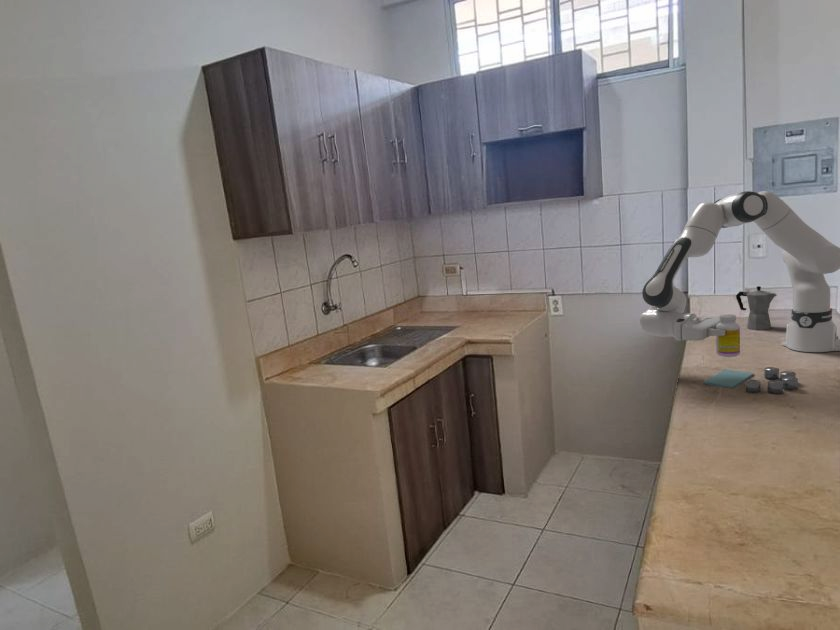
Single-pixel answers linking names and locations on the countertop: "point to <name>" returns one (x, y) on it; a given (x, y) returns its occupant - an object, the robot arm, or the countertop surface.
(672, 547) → the countertop surface
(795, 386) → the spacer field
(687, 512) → the countertop surface
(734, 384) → the mat
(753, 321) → the coffeepot
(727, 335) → the supplement bottle
